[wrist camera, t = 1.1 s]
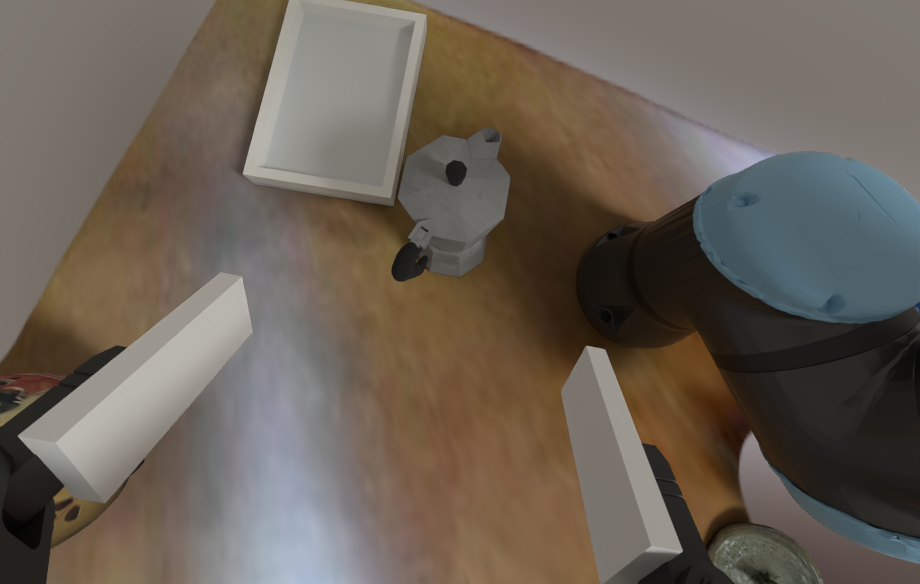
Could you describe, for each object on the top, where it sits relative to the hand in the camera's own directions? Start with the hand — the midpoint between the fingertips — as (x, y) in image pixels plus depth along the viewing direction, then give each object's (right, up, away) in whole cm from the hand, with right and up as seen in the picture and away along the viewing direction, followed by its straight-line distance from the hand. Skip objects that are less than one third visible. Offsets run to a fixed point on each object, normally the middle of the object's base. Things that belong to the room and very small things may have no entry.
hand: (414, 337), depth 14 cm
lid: (+34, -29, +26) cm, 51 cm away
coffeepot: (0, +7, +30) cm, 30 cm away
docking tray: (-13, +26, +32) cm, 43 cm away
